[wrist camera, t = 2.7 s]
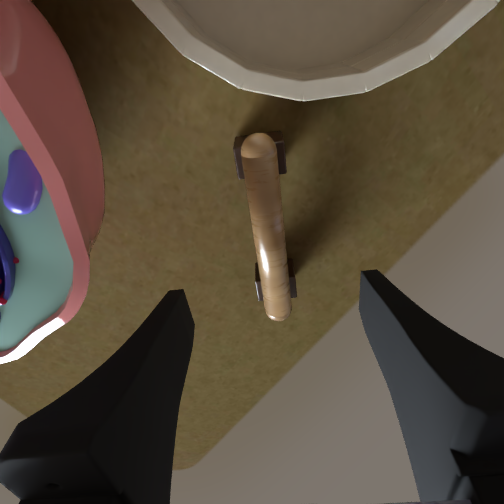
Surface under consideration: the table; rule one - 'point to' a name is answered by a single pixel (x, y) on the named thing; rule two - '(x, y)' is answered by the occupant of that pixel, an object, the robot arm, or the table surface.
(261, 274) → the stick
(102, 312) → the table surface
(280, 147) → the stick rest
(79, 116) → the cell model
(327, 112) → the table surface
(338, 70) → the cream shallow round container
